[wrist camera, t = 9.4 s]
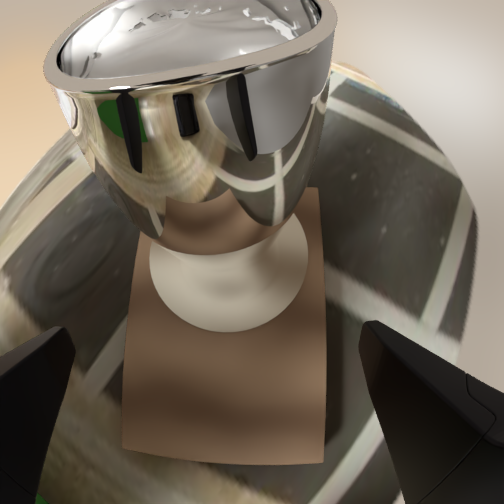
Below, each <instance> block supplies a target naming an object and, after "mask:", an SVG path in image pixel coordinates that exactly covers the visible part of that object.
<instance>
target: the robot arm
mask: <svg viewBox="0 0 504 504" xmlns="http://www.w3.org/2000/svg"><path fill="white" fill-rule="evenodd" d="M359 354H360V358H361V361H362V366H363V370H364V374H365V378H366V382H367V386H368V390H369V394H370V397H371V400H372V403H373V406H374V408H375V411H376V414H377V417H378V420H379V423H380V425H381V428H382V431H383V434H384V437H385V440H386V443H387V446H388V449H389V452H390V455H391V458H392V461H393V464H394V468H395V471H396V474H397V477H398V480H399V484H400V487H401V490H402V494H403V497H404V501H405V504H504V393H502V392H500V391H498V390H496V389H494V388H492V387H490V386H489V385H487V384H485V383H483V382H481V381H480V380H478V379H476V378H475V377H472V376H471V375H469V374H468V373H467V374H466V373H465V372H464V371H462V370H461V369H459V368H458V367H456V366H454V365H452V364H451V363H449V362H447V361H446V360H444V359H442V358H441V357H439V356H437V355H436V354H434V353H432V352H430V351H429V350H427V349H425V348H424V347H422V346H420V345H419V344H417V343H415V342H414V341H412V340H410V339H408V338H407V337H405V336H403V335H402V334H400V333H398V332H397V331H395V330H393V329H391V328H390V327H388V326H386V325H385V324H383V323H381V322H379V321H377V320H374V321H366V322H364V324H363V326H362V330H361V335H360V340H359ZM74 357H75V346H74V344H73V342H72V339H71V337H70V334H69V332H68V330H67V329H66V328H65V327H59V326H55V327H53V328H51V329H49V330H47V331H45V332H44V333H42V334H40V335H38V336H36V337H35V338H33V339H31V340H29V341H27V342H26V343H24V344H22V345H20V346H19V347H17V348H15V349H13V350H12V351H10V352H8V353H6V354H5V355H3V356H1V357H0V504H35V503H36V497H37V492H38V487H39V483H40V478H41V474H42V470H43V465H44V461H45V458H46V454H47V450H48V446H49V443H50V439H51V436H52V432H53V429H54V426H55V423H56V419H57V416H58V413H59V410H60V407H61V404H62V401H63V398H64V395H65V392H66V388H67V384H68V380H69V376H70V372H71V368H72V365H73V361H74Z"/></svg>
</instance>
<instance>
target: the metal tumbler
mask: <svg viewBox="0 0 504 504" xmlns="http://www.w3.org/2000/svg"><path fill="white" fill-rule="evenodd" d="M336 24H337V13H336V10H335V8H334V6H333V5H332V3H331V2H330V1H329V0H108V1H106V2H104V3H102V4H100V5H99V6H97V7H95V8H94V9H92V10H90V11H89V12H87V13H86V14H84V15H83V16H82V17H80V18H79V19H78V20H76V21H75V22H74V23H73V24H71V25H70V27H68V28H67V29H66V30H65V31H64V32H63V33H62V34H61V35H60V36H59V37H58V39H57V40H56V41H55V42H54V44H53V45H52V46H51V48H50V50H49V51H48V53H47V55H46V58H45V61H44V66H43V72H44V76H45V78H46V80H47V82H48V83H49V84H50V86H51V87H52V90H53V92H54V94H55V96H56V98H57V101H58V103H59V105H60V107H61V109H62V112H63V114H64V116H65V118H66V120H67V122H68V125H69V127H70V129H71V131H72V133H73V136H74V138H75V139H76V141H77V143H78V145H79V147H80V149H81V151H82V153H83V155H84V157H85V159H86V160H87V162H88V164H89V166H90V167H91V169H92V170H93V172H94V174H95V175H96V177H97V178H98V180H99V181H100V183H101V185H102V186H103V188H104V189H105V191H106V192H107V194H108V195H109V196H110V198H111V199H112V200H113V201H114V202H115V204H116V205H117V206H118V207H119V209H120V210H121V211H122V212H123V213H124V215H125V216H126V217H127V218H128V219H129V220H130V222H131V223H132V224H134V225H135V226H136V227H137V228H138V229H139V230H140V231H142V232H143V233H144V234H145V235H146V236H147V237H149V238H150V239H151V240H152V241H153V242H155V243H156V244H157V245H159V246H160V247H162V248H163V249H165V250H166V251H167V252H169V253H170V254H172V255H173V256H175V257H177V258H178V259H179V260H180V267H181V271H182V274H183V276H184V278H185V280H186V281H187V283H188V284H189V286H190V287H191V288H192V289H193V290H194V291H195V292H196V293H198V294H199V295H200V296H202V297H204V298H206V299H208V300H211V301H214V302H218V303H227V304H230V303H239V302H243V301H246V300H249V299H251V298H253V297H255V296H256V295H258V294H259V293H261V292H262V291H263V290H264V289H265V288H266V287H267V286H268V285H269V283H270V282H271V281H272V279H273V277H274V275H275V273H276V271H277V268H278V264H279V256H280V252H279V244H278V240H277V238H278V236H279V235H280V233H281V232H282V230H283V229H284V227H285V225H286V224H287V222H288V221H289V219H290V218H291V216H292V214H293V213H294V211H295V209H296V207H297V205H298V203H299V201H300V199H301V197H302V195H303V193H304V191H305V189H306V187H307V184H308V181H309V178H310V175H311V172H312V169H313V166H314V163H315V160H316V156H317V153H318V149H319V144H320V140H321V135H322V130H323V125H324V120H325V114H326V107H327V99H328V91H329V83H330V72H331V61H332V50H333V39H334V32H335V27H336Z"/></svg>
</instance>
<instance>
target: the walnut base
mask: <svg viewBox="0 0 504 504" xmlns="http://www.w3.org/2000/svg"><path fill="white" fill-rule="evenodd" d="M277 240H278V244H279V252H280V256H279V264H278V268H277V271H276V273H275V275H274V277H273V279H272V281H271V282H270V283H269V285H268V286H267V287H266V288H265V289H264V290H263V291H262V292H261V293H259V294H258V295H256V296H255V297H253V298H251V299H249V300H246V301H243V302H239V303H230V304H227V303H218V302H214V301H211V300H208V299H206V298H204V297H202V296H200V295H199V294H198V293H196V292H195V291H194V290H193V289H192V288H191V287H190V286H189V284H188V283H187V281H186V280H185V278H184V276H183V274H182V271H181V267H180V260H179V259H178V258H177V257H175V256H173V255H172V254H170V253H169V252H167V251H166V250H165V249H163V248H162V247H160V246H159V245H157V244H156V243H155V242H153V241H152V240H151V239H150V238H149V237H147V236H146V235H145V234H144V233H143V232H142V231H140V237H139V242H138V248H137V254H136V260H135V266H134V273H133V280H132V287H131V294H130V302H129V310H128V319H127V329H126V340H125V352H124V367H123V386H122V448H123V449H127V450H132V451H137V452H141V453H146V454H152V455H157V456H163V457H169V458H176V459H183V460H191V461H200V462H211V463H223V464H242V465H292V464H310V463H323V456H324V438H325V415H326V304H325V279H324V260H323V244H322V230H321V217H320V205H319V195H318V188H314V187H306V189H305V191H304V193H303V195H302V197H301V199H300V201H299V203H298V205H297V207H296V209H295V211H294V213H293V214H292V216H291V218H290V219H289V221H288V222H287V224H286V225H285V227H284V229H283V230H282V232H281V233H280V235H279V236H278V238H277Z"/></svg>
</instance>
